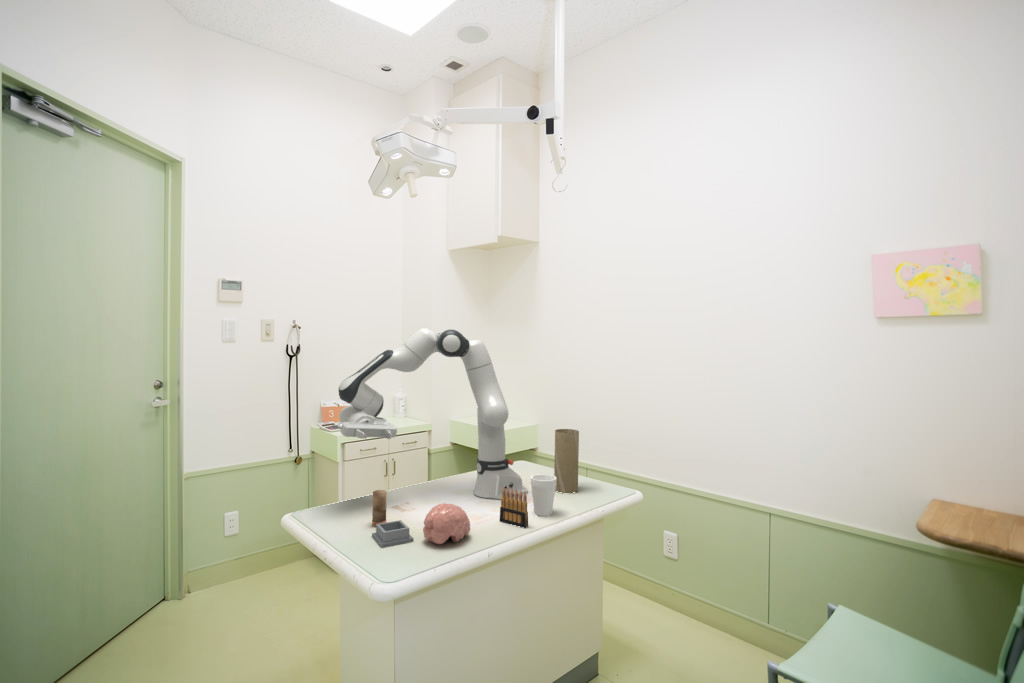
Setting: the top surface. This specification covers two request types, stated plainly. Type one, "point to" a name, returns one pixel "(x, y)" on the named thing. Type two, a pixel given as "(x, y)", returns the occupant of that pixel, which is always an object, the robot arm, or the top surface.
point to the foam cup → (543, 493)
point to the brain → (446, 523)
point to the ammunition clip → (514, 508)
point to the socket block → (392, 534)
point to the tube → (566, 460)
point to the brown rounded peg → (379, 507)
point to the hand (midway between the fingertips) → (377, 436)
